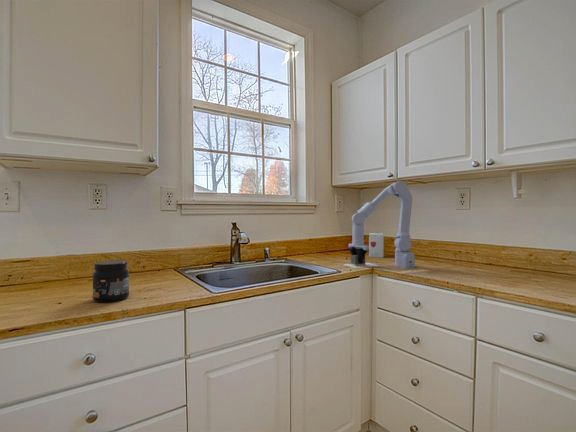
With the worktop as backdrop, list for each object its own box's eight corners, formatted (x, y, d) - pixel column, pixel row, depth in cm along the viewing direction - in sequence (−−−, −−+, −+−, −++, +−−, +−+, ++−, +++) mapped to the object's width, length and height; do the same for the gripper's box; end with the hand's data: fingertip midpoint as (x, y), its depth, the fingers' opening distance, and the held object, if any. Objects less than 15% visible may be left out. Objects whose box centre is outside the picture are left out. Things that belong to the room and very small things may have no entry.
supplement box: (368, 257, 199) (368, 233, 199) (369, 255, 207) (369, 232, 207) (383, 257, 196) (383, 234, 196) (383, 256, 205) (383, 233, 205)
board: (380, 268, 159) (380, 265, 159) (354, 270, 153) (354, 267, 153) (367, 264, 170) (367, 262, 170) (342, 266, 164) (342, 264, 164)
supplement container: (91, 297, 103) (91, 261, 103) (126, 293, 109) (126, 259, 109) (93, 305, 95) (93, 266, 94) (131, 300, 101) (131, 263, 101)
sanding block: (365, 265, 160) (365, 255, 160) (355, 265, 158) (355, 256, 158) (360, 264, 164) (360, 254, 164) (350, 264, 161) (350, 255, 161)
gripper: (343, 235, 166) (343, 261, 166) (359, 237, 152) (359, 265, 153) (354, 235, 168) (354, 260, 169) (371, 237, 155) (371, 264, 155)
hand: (357, 262), depth 161 cm, fingers closed on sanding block, 4 cm apart
